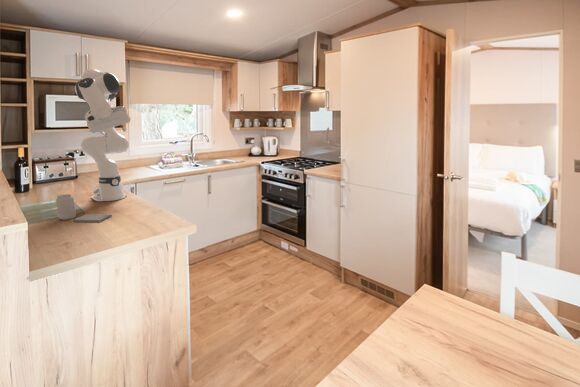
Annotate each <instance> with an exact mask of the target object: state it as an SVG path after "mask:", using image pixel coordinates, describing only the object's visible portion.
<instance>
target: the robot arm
mask: <svg viewBox="0 0 580 387" xmlns="http://www.w3.org/2000/svg"><path fill="white" fill-rule="evenodd" d="M120 90H121V83H120V80H119V79H118V78H117V76H116V75H114V74H113V73H111V72H107V71H101V70H99V69H96V68H89V69H86V70H85V71H84V72H83V74H82V76H81V78H80V80H78V81H77V82H76V83H75V87H74V91H75V94H76V95H77V97H78V99H80V100H83V101H85V103H87V104H88V106H89V110H88V111H86V112H85V114H84V120H85V121H86V125H87V127H88V129H89V131H90V132H91V133H92V134H96V133H99V134H101V135H99V136H96V135H94V136H90V137H89V136H88V137H84V138H83V139H82V140H81V143H80V147H81V150H82V152H84V153H85V154H86V155H87V156H90V157H91V158H92V159H93V160H94V162H95V163H96V166H97V169H98V174H99V177H98V184H97V186H96V187H94V190H93V194H94V195H91V196H90V198H91V199H92V200H94V201H96V202H110V201H111V202H112V201H119V200H123V199H124V198H126V197H127V196H128V194H126V193H125V192H126V191H125V187H124V184H123V183H122V182H121V181H122V180H121V179H122V178H121V175H120V170H119V163H118V162H117V161H115V160H112V159H110V158H107V157H106V156H107V155H113V154H114V155H115V154H122V153H125V152H127V151H128V149H129V146H130V145H129V144H130V143H129V140H128V139H127V138H126V137H125V136H124V135H122V134H120V133H119V132H118V131H117V129H116V127H118V126H123V127H121V130H122V131H123V133H124V132H127V128H126V124H128V123H130V122H131V116H130V115H129V113H128V111H127V108H126V106H123V105H118V106H115V107H112V105H111V104H110V102H112V101H113V100H114V99H115V98H117V97H116V96H117V94H118V93H119V91H120ZM109 101H110V102H109Z"/></svg>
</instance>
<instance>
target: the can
mask: <svg viewBox="0 0 580 387" xmlns="http://www.w3.org/2000/svg"><path fill="white" fill-rule="evenodd" d="M55 204H56V209H57V216H58V218H59V219H60V220H63V221H68V220H73V219H75V217H76V216H77V214H76V207H75V206H76V205H75V201H74V197H73V196H72V194H69V193H68V194H60V195H57V197H56V199H55Z"/></svg>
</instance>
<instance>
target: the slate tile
mask: <svg viewBox="0 0 580 387" xmlns="http://www.w3.org/2000/svg"><path fill="white" fill-rule="evenodd" d="M112 217H113V215H112V214H100V213H99V214H98V213H96V214H92V213H91V214H89V213H87V214H84V215H82V216H79V217H76V218H73V219H72V221H73V222H74V223H80V222H81V223H102V222H103V221H105V220H108V219H110V218H112Z"/></svg>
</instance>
